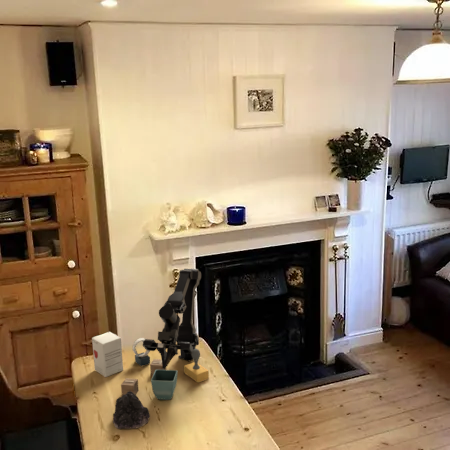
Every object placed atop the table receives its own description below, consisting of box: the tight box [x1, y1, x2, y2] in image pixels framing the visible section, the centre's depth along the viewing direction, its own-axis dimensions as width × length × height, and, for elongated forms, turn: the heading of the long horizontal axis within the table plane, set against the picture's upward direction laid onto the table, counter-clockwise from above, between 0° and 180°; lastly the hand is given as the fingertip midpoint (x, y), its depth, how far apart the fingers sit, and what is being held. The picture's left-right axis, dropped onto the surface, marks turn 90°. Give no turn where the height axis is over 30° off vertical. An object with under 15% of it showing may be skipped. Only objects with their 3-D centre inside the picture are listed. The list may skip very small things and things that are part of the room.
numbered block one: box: [120, 377, 140, 397], centre depth 221 cm, size 5×5×5 cm
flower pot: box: [150, 369, 179, 401], centre depth 218 cm, size 9×9×9 cm
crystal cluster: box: [112, 391, 151, 430], centre depth 203 cm, size 13×14×10 cm
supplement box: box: [91, 331, 124, 378], centre depth 239 cm, size 9×9×15 cm
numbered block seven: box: [149, 358, 167, 377], centre depth 236 cm, size 5×5×5 cm
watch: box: [132, 337, 151, 367], centre depth 245 cm, size 6×8×11 cm
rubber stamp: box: [183, 348, 210, 383], centre depth 233 cm, size 10×6×12 cm, turn 36°
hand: (164, 368), depth 216 cm, fingers closed
